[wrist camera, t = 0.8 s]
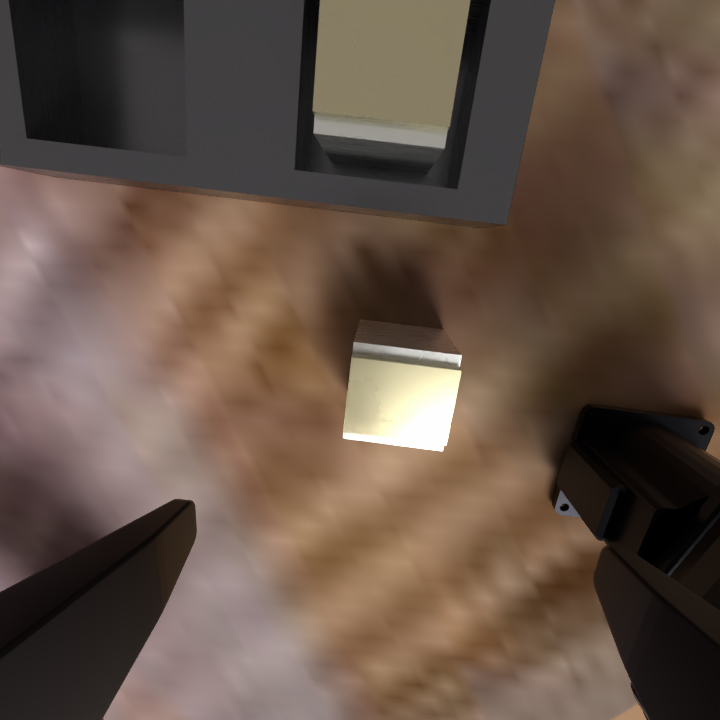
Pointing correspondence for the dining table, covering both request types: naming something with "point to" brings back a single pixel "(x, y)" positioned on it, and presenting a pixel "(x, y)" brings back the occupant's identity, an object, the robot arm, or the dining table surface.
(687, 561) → the robot arm
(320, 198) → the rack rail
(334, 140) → the beige block
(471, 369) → the dining table surface
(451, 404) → the cream two-tone block
